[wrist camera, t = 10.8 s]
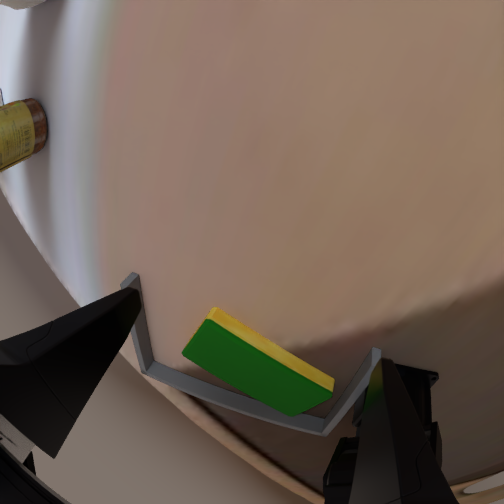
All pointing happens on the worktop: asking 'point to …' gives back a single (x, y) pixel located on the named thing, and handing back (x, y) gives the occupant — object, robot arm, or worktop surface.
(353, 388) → the box
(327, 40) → the worktop surface
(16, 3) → the water bottle
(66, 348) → the robot arm
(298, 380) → the dish sponge
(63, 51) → the worktop surface
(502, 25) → the worktop surface
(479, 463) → the worktop surface
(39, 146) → the sauce bottle
